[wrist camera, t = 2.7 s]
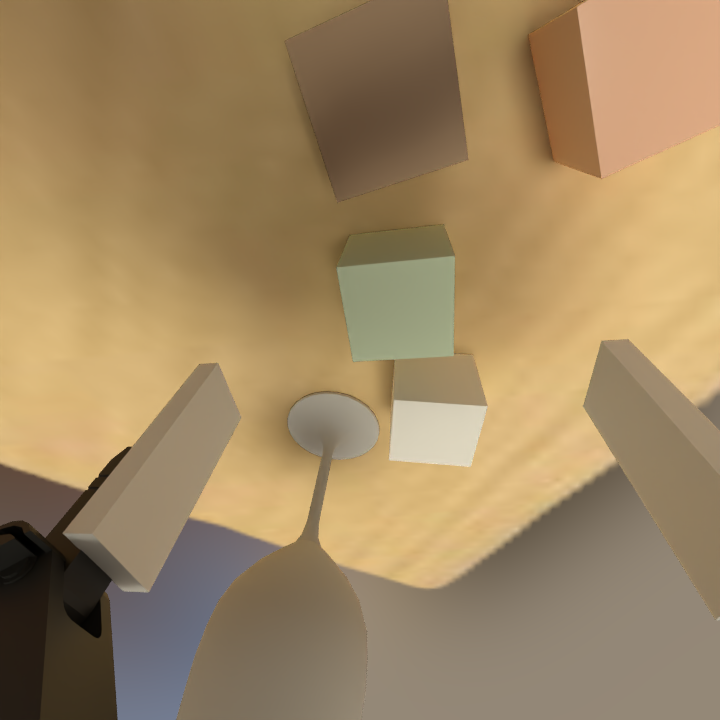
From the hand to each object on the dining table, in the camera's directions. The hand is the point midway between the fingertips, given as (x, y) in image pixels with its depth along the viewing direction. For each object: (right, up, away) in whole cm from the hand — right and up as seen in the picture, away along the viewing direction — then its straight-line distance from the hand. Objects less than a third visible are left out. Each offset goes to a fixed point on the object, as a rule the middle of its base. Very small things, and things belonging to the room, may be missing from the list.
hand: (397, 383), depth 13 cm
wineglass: (-3, -4, +15) cm, 16 cm away
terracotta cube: (+9, +13, +2) cm, 16 cm away
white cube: (+3, -1, +12) cm, 12 cm away
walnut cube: (0, +12, +3) cm, 13 cm away
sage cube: (+1, +6, +8) cm, 10 cm away
